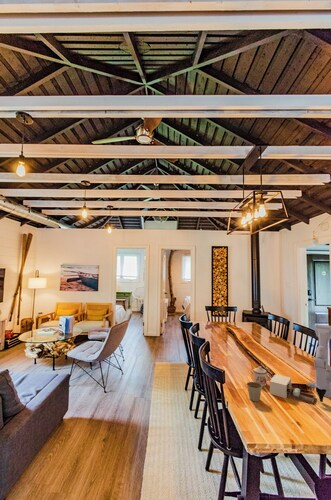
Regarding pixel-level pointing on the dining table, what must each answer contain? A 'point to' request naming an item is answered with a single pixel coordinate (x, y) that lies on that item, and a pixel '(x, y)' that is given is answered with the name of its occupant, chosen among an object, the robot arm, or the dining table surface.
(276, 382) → the grey rectangular block
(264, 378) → the teacup with lid
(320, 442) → the dining table surface
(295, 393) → the grey rounded lump
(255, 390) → the flower pot
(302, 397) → the tray
